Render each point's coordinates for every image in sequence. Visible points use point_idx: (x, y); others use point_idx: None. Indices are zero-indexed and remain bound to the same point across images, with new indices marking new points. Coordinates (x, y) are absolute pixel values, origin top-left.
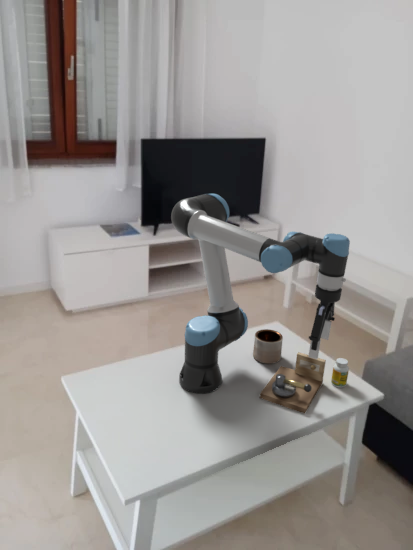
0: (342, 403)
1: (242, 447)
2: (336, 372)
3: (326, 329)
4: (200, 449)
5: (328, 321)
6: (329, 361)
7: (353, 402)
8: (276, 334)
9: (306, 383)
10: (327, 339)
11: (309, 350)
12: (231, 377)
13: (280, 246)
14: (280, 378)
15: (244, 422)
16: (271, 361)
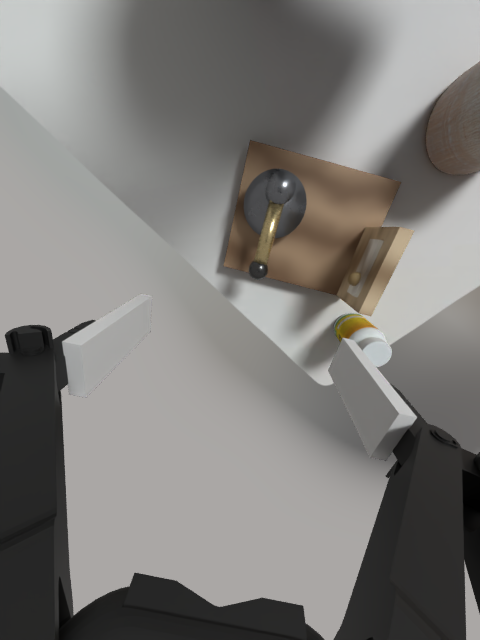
0: (280, 332)
1: (68, 141)
2: (350, 332)
3: (354, 393)
4: (5, 25)
5: (379, 445)
6: (444, 308)
7: (289, 350)
8: None
9: (322, 261)
10: (329, 369)
11: (121, 305)
12: (333, 15)
13: None
14: (270, 188)
15: (145, 125)
16: (430, 146)
